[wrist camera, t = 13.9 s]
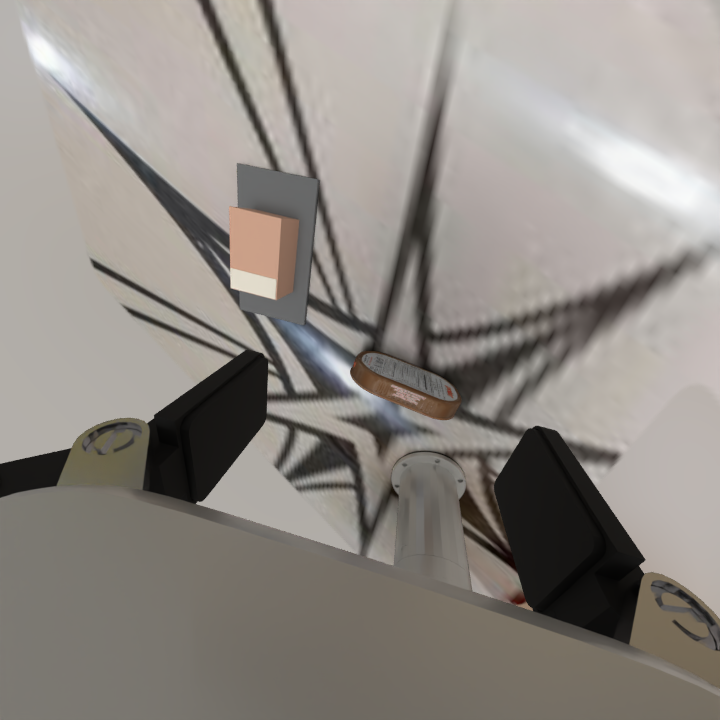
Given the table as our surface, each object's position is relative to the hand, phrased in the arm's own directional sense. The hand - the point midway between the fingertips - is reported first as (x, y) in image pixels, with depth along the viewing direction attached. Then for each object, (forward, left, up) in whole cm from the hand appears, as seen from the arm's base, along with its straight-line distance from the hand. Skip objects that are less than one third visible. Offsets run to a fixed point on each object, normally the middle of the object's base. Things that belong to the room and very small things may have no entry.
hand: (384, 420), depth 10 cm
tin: (-12, -3, -29) cm, 31 cm away
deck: (0, +18, -28) cm, 33 cm away
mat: (0, +18, -28) cm, 34 cm away
